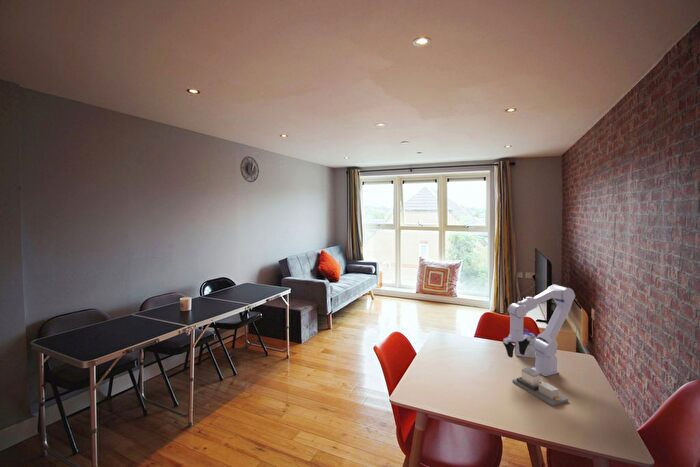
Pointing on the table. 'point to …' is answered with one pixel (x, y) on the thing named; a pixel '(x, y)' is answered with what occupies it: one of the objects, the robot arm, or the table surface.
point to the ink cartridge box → (529, 350)
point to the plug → (531, 377)
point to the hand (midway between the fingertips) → (516, 355)
